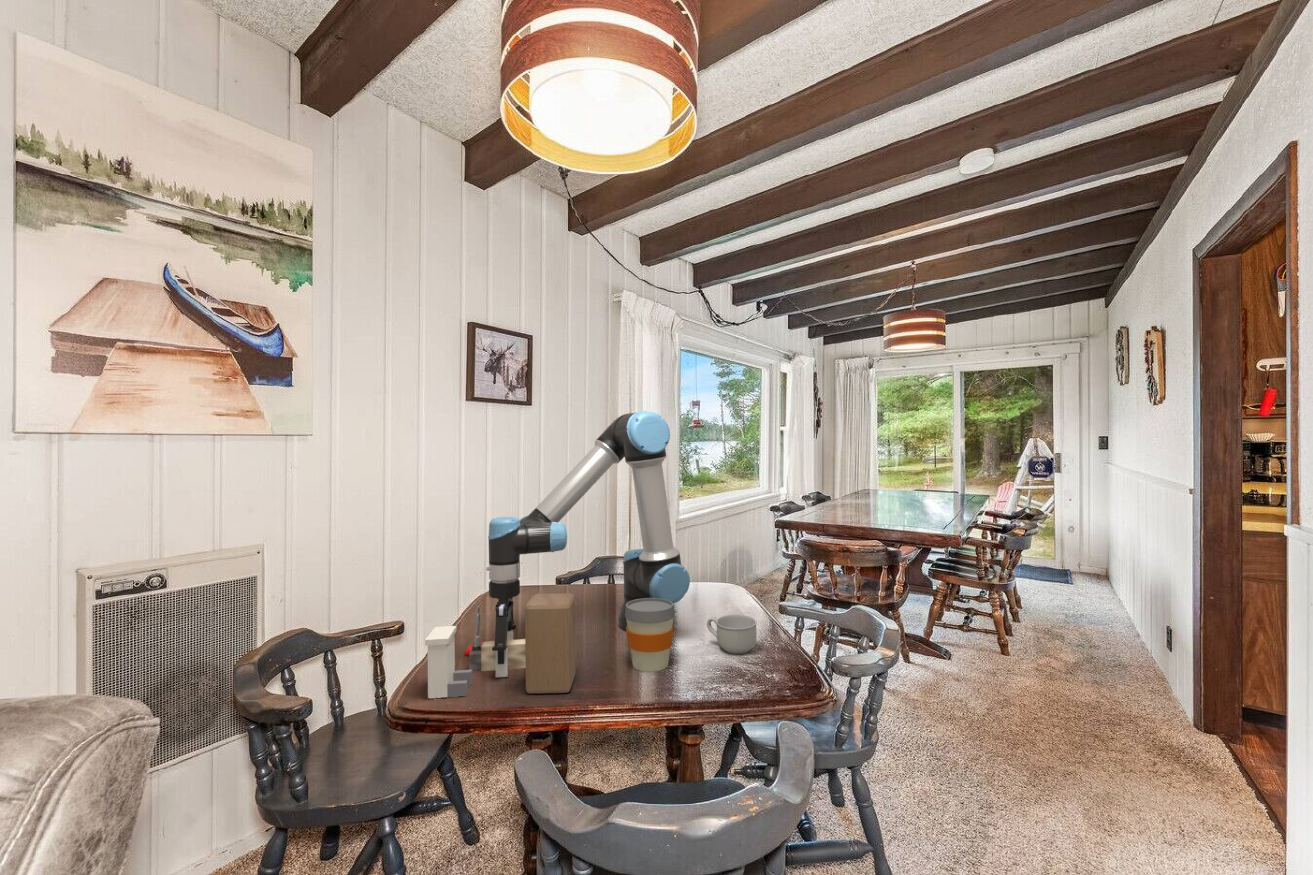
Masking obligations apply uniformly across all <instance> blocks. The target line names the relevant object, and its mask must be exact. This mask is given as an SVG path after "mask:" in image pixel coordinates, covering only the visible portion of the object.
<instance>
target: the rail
mask: <svg viewBox="0 0 1313 875" xmlns="http://www.w3.org/2000/svg"><path fill="white" fill-rule="evenodd" d="M482 643H483V644H482V646H481V651H471V652H470V654H469V656H468V670H472V672H475V671H476V672H477V670H478V671H481V672H487V671H489V672H490V671H496V665H495V651H492V647H494V645H495V640H488V641H483V642H482ZM498 645H503V644H498ZM507 657H508V670H518V669H519V670H520V669H526V654H525V638H521V639H513V640H507Z"/></svg>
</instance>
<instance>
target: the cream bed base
mask: <svg viewBox="0 0 1313 875" xmlns="http://www.w3.org/2000/svg"><path fill="white" fill-rule="evenodd" d="M457 627H458V626H457V625H446V626H435V627H434V628H433V629H432V631H431V632H430V633H429V635H428V636H427V637H426V638H425V640H424V646H427V699H428V698H436V697H437V698H441V697H453V696H466V695H467V696H468V694H467V693H468V692H469V691H468V688H469V687H468V686H470V685H469V684H472V685H473V671H472V670H469V669H460V670H459V669H458V670H456V669H455V668H456V667H455V666H456V661H455V660H456V659H455V658H456V656H455V655H456V654H455V650H456V649H455V647H456V645H455V642H456V641H455V634H456V632H457ZM467 696H466V697H467Z"/></svg>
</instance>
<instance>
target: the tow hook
mask: <svg viewBox="0 0 1313 875" xmlns="http://www.w3.org/2000/svg"><path fill="white" fill-rule="evenodd" d="M475 610H476V612H475V623H474V624H475V625H474V627H475V629H474V640H473V642H474V644H471V645H470V646H468V649H465V650H464V652H463V654H464V656H468V655H469V654H470V652H471V651H481V646H482V644H483V642H481V614H480V605H477V606H476V609H475Z"/></svg>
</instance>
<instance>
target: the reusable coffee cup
mask: <svg viewBox="0 0 1313 875" xmlns="http://www.w3.org/2000/svg"><path fill="white" fill-rule="evenodd" d="M674 604H675V603H674ZM674 604H673V602H671V601H669V600H666V599H660V598H642V599H636V600H632V601H630V602H628V603H627V604H626V609H625V618H626V619H627V627H626V630H625V631H626V636H627V644H628V647H629V648H630V653H631V654H630V655H631V662H632V667H633V668H634V669H635V670H637V671H641V672H646V673H647V672H648V673H651V672H654V673H655V672H659V671H662V670H665V669H666V668H668V666H669V662H670V661H669V660H670V651H671V648H672V645H673V638H674V629H675V626H674V618H675V615H676V612H675V605H674Z"/></svg>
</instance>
